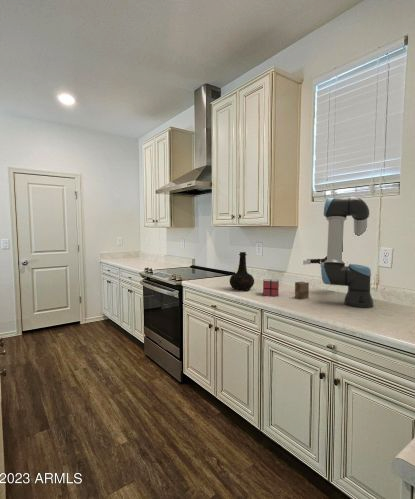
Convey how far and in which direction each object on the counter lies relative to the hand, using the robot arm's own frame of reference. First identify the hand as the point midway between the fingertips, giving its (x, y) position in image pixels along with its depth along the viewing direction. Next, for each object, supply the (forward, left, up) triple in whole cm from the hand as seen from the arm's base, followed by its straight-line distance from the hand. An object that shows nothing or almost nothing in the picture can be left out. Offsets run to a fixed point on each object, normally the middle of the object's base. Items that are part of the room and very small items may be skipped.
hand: (312, 263), depth 196 cm
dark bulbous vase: (+42, +25, -22) cm, 54 cm away
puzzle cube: (+18, +19, -22) cm, 34 cm away
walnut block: (0, +9, -22) cm, 24 cm away
